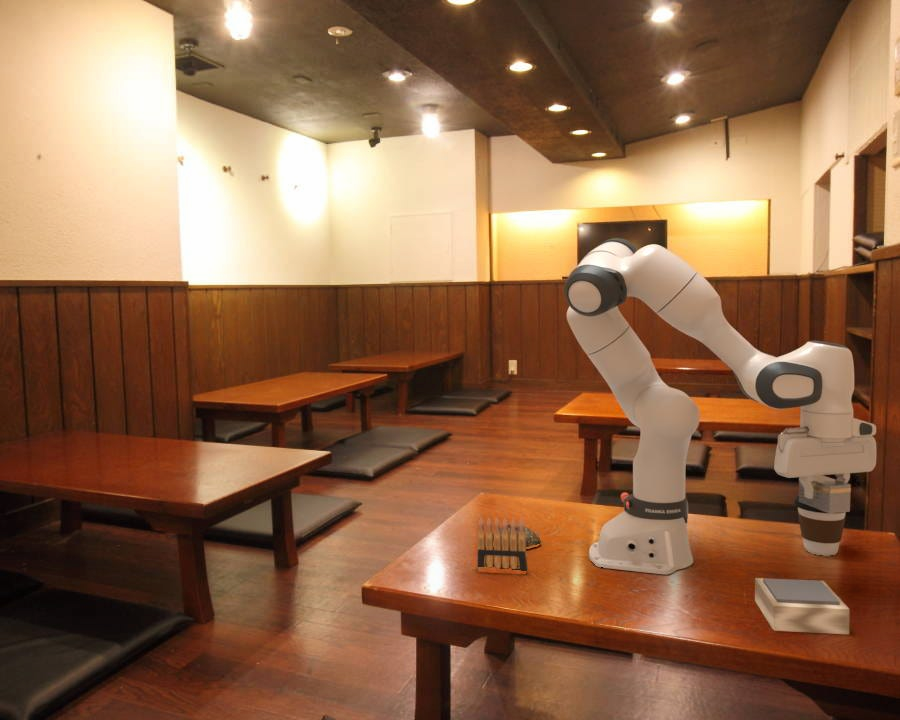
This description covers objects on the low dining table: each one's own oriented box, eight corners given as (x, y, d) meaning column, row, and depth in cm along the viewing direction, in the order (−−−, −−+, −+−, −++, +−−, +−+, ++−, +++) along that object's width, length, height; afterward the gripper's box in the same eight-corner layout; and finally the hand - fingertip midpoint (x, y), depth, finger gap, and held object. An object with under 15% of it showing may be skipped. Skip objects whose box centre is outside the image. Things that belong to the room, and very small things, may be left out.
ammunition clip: (477, 572, 146) (475, 518, 145) (478, 569, 148) (477, 515, 147) (526, 575, 144) (525, 519, 143) (527, 571, 146) (526, 517, 145)
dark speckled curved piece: (547, 549, 160) (547, 528, 159) (500, 557, 155) (500, 536, 155) (521, 532, 172) (521, 513, 171) (477, 540, 167) (476, 520, 166)
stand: (773, 630, 117) (773, 602, 116) (754, 600, 128) (755, 575, 128) (849, 634, 115) (849, 605, 114) (823, 603, 126) (823, 577, 126)
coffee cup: (860, 558, 147) (861, 504, 146) (812, 561, 146) (813, 507, 145) (828, 541, 158) (829, 491, 157) (783, 544, 157) (784, 493, 156)
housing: (829, 513, 126) (830, 486, 126) (798, 501, 134) (799, 475, 134) (850, 511, 127) (850, 484, 127) (817, 499, 135) (818, 474, 135)
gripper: (790, 431, 124) (789, 505, 125) (883, 425, 128) (881, 497, 129) (767, 425, 130) (765, 496, 131) (857, 420, 135) (854, 488, 136)
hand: (824, 496), depth 130 cm, fingers closed on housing, 4 cm apart
